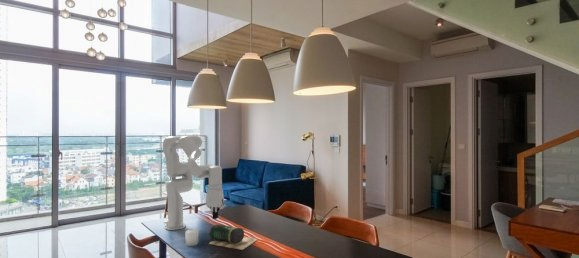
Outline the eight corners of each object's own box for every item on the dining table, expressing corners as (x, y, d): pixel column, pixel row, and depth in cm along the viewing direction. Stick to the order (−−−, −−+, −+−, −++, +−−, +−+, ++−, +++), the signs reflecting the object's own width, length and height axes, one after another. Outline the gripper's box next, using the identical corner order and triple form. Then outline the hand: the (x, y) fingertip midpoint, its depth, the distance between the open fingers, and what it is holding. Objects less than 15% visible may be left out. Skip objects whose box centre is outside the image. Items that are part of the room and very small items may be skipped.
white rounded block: (182, 244, 171) (182, 232, 172) (191, 240, 178) (191, 228, 178) (192, 246, 169) (192, 233, 169) (201, 242, 175) (201, 230, 175)
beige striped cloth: (209, 244, 172) (209, 243, 172) (225, 235, 187) (225, 234, 187) (242, 249, 164) (242, 248, 164) (257, 240, 178) (257, 239, 178)
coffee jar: (208, 240, 176) (234, 245, 167) (209, 226, 176) (234, 230, 168) (220, 236, 184) (245, 241, 175) (220, 223, 185) (245, 227, 176)
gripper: (200, 187, 180) (200, 218, 180) (222, 189, 174) (222, 221, 174) (208, 185, 187) (209, 215, 187) (229, 186, 181) (229, 218, 181)
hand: (215, 218), depth 180 cm, fingers closed
